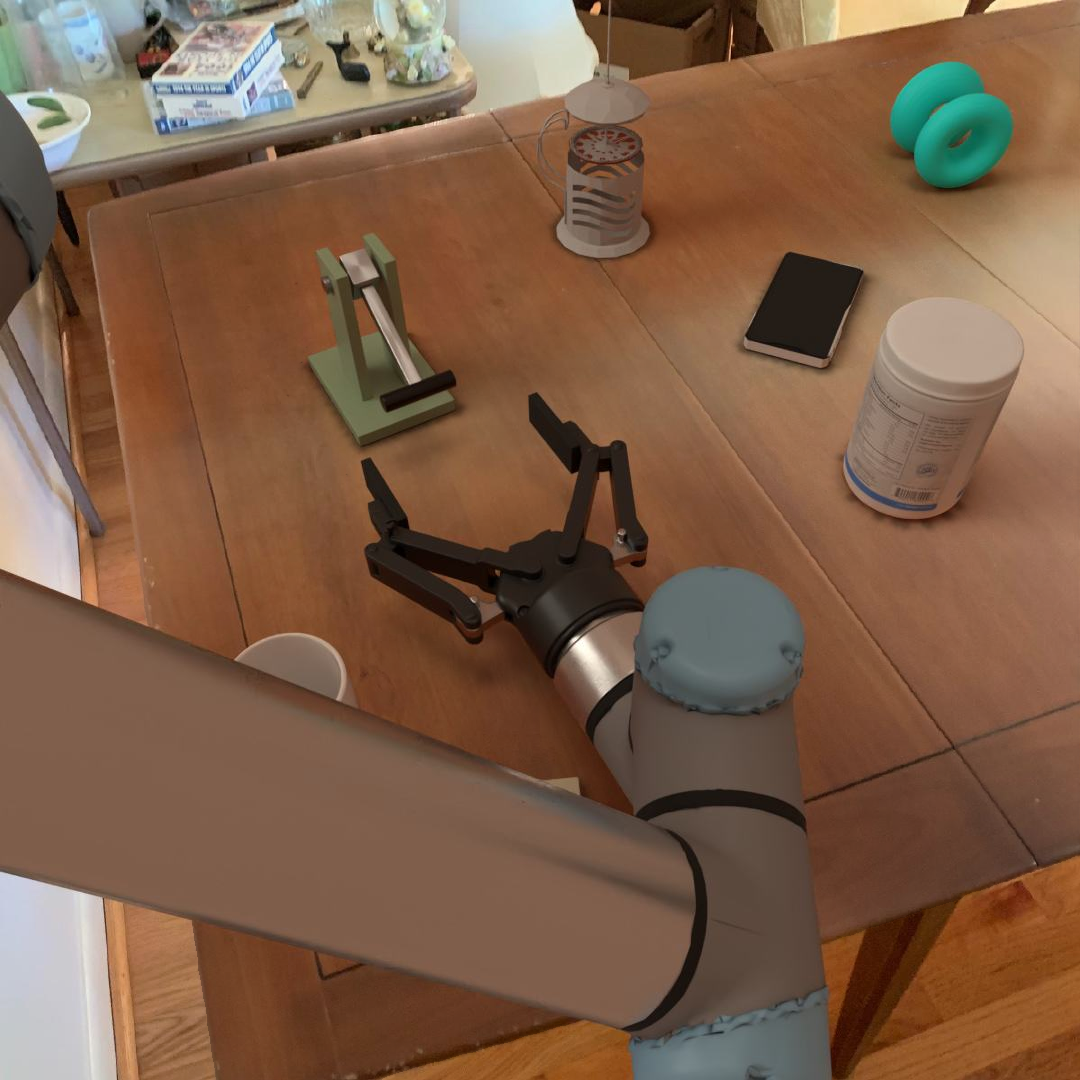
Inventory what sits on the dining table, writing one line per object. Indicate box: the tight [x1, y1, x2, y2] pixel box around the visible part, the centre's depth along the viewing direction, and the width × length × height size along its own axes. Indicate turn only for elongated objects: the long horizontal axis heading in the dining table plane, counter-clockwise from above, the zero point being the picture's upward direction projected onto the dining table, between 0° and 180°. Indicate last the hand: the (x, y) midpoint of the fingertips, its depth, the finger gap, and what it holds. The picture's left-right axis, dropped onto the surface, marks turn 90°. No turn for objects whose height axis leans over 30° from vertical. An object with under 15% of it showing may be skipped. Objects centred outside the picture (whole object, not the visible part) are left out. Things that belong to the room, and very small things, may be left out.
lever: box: [338, 247, 458, 413], centre depth 77 cm, size 13×6×2 cm, turn 30°
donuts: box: [889, 61, 1014, 189], centre depth 104 cm, size 10×10×10 cm
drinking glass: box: [233, 632, 361, 710], centre depth 56 cm, size 7×7×15 cm
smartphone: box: [742, 251, 865, 369], centre depth 92 cm, size 8×1×15 cm
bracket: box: [307, 232, 457, 447], centre depth 82 cm, size 12×9×14 cm
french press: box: [535, 0, 651, 259], centre depth 92 cm, size 10×12×25 cm
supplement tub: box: [842, 296, 1025, 520], centre depth 73 cm, size 10×10×15 cm
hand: (452, 438), depth 72 cm, fingers open, 13 cm apart
